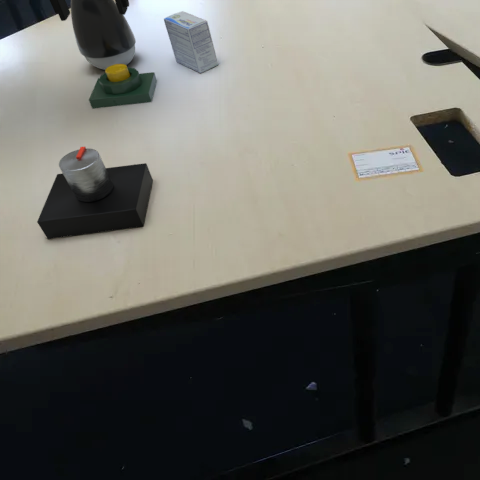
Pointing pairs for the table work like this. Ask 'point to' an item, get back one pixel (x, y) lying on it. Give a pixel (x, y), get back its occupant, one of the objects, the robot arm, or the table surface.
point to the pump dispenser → (102, 33)
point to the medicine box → (191, 41)
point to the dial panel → (98, 205)
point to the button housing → (123, 90)
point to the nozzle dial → (86, 174)
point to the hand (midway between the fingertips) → (95, 14)
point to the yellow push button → (117, 72)
